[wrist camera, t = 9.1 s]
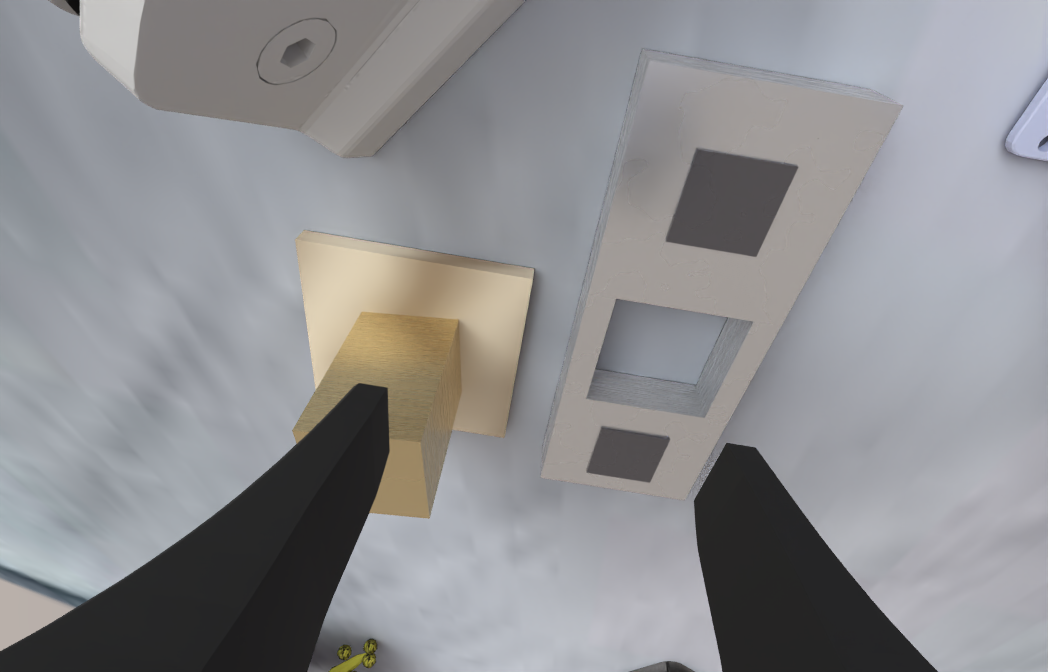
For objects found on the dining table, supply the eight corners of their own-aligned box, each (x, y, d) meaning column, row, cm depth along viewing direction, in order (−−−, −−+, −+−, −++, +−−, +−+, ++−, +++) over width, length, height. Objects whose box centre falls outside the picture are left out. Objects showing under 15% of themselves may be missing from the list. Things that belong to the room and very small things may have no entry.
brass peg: (461, 391, 24) (429, 518, 18) (374, 384, 24) (317, 507, 19) (458, 319, 21) (420, 442, 16) (361, 311, 21) (292, 430, 16)
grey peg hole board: (870, 89, 16) (905, 106, 14) (678, 466, 27) (685, 502, 25) (642, 48, 16) (650, 61, 14) (542, 445, 26) (540, 479, 25)
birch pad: (534, 268, 20) (533, 279, 20) (506, 425, 26) (504, 437, 25) (304, 230, 20) (295, 239, 20) (324, 396, 26) (318, 408, 25)
